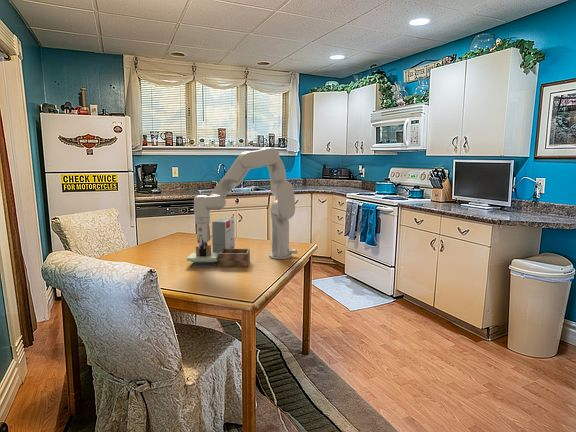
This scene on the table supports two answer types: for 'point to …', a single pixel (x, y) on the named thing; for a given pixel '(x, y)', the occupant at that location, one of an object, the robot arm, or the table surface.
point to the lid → (209, 257)
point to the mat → (203, 264)
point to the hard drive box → (223, 234)
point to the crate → (234, 257)
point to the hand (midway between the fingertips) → (203, 255)
